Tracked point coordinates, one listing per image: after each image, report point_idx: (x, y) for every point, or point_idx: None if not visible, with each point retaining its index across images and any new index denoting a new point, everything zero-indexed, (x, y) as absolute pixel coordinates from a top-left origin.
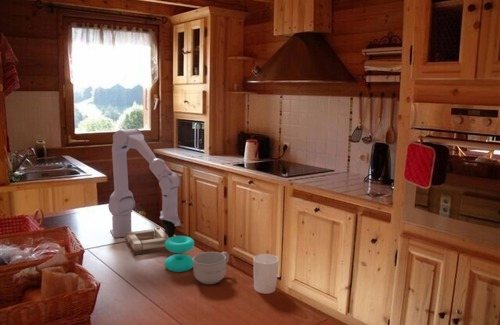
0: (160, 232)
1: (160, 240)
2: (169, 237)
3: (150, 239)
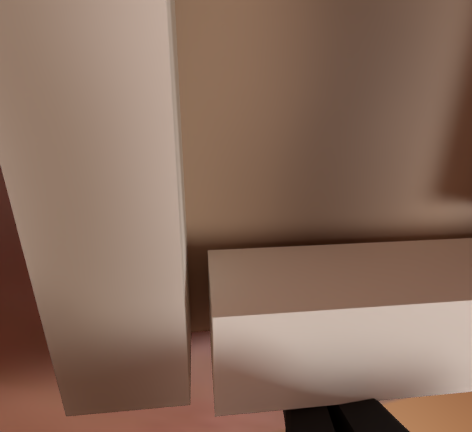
0: (450, 335)
1: (30, 245)
2: None
3: (458, 129)
